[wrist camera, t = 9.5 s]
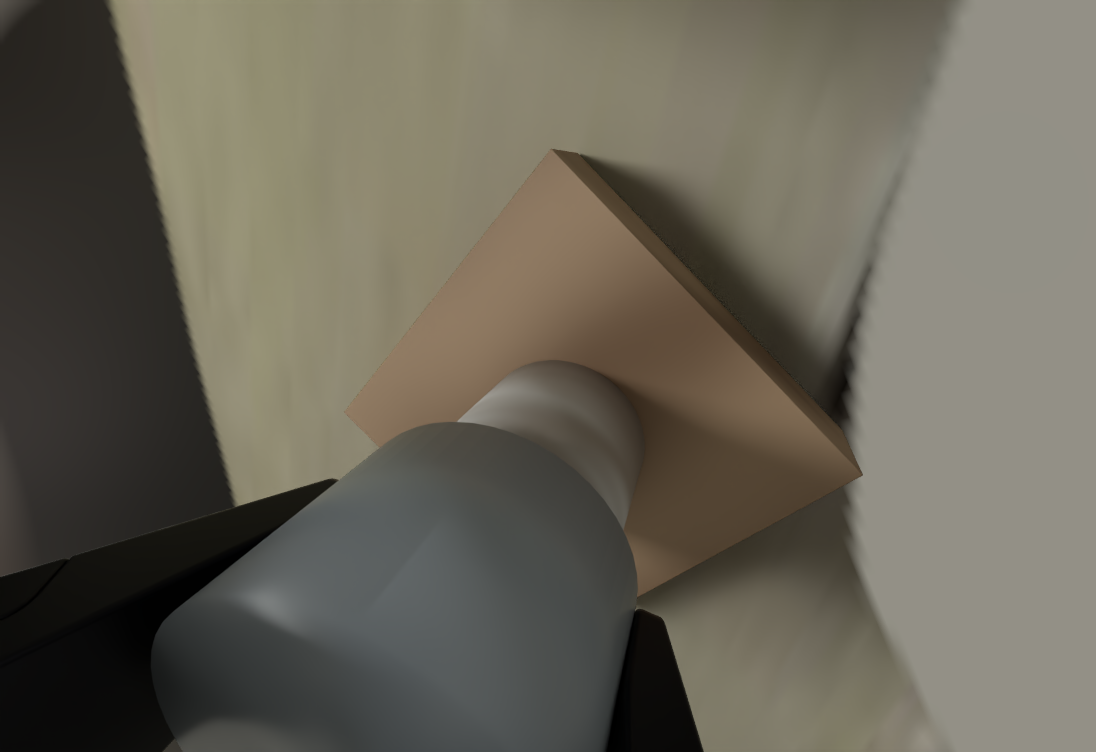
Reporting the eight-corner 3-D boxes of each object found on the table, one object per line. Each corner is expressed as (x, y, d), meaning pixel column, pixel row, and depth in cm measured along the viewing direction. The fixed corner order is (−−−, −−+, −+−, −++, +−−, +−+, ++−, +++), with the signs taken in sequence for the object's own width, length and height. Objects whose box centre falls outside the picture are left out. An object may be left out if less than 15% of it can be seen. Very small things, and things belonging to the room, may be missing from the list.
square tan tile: (842, 430, 12) (942, 647, 6) (585, 584, 16) (513, 793, 11) (577, 153, 11) (444, 132, 6) (386, 385, 16) (208, 496, 10)
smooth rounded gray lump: (591, 717, 9) (519, 1012, 6) (350, 600, 10) (177, 797, 7) (683, 496, 7) (649, 778, 4) (363, 376, 8) (117, 514, 4)
